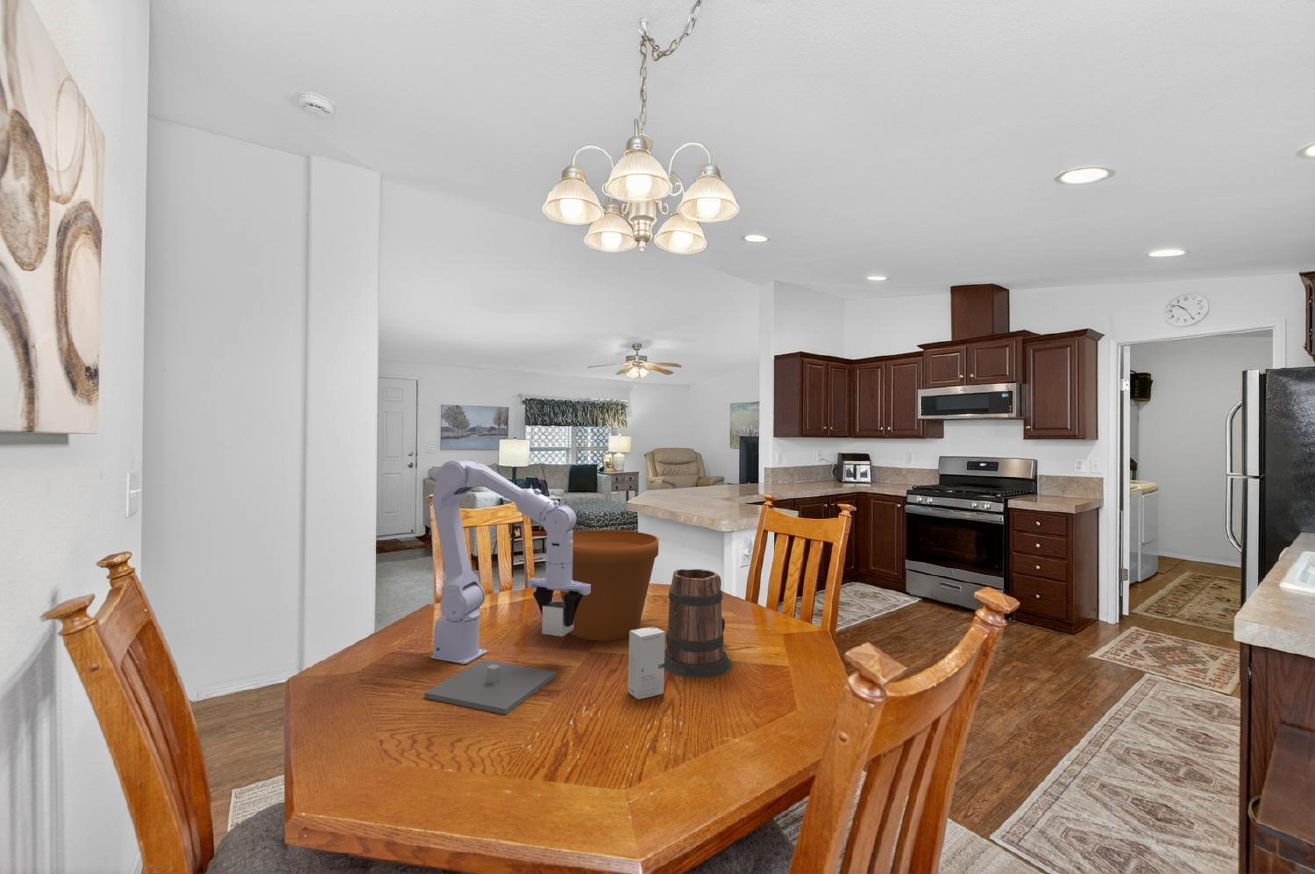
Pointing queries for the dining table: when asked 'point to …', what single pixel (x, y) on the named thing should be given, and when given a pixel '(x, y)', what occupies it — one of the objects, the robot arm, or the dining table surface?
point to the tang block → (491, 686)
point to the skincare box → (646, 662)
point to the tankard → (695, 625)
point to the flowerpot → (611, 581)
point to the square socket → (555, 619)
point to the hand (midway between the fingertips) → (558, 623)
